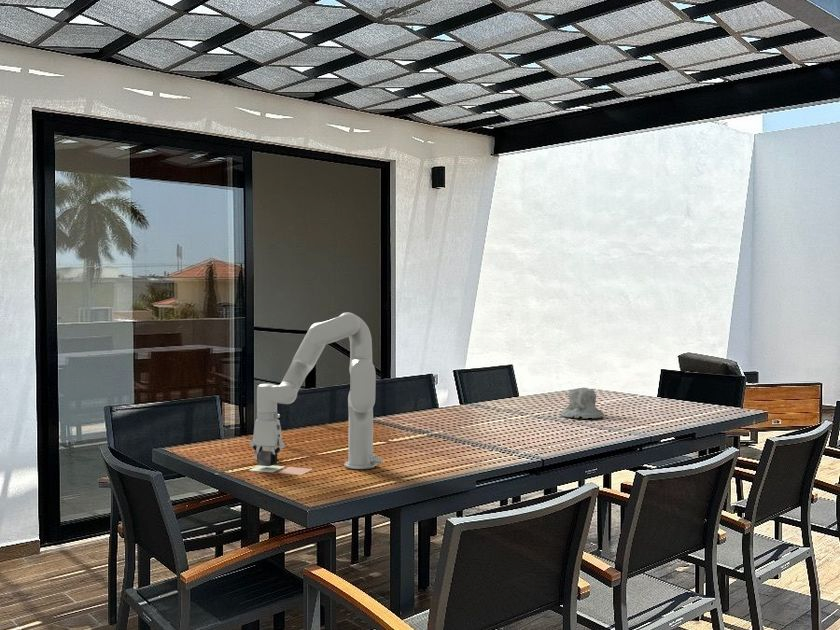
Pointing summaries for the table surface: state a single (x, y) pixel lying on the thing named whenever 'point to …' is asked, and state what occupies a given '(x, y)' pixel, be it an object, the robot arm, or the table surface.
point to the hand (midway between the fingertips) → (267, 463)
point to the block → (264, 458)
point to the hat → (582, 404)
